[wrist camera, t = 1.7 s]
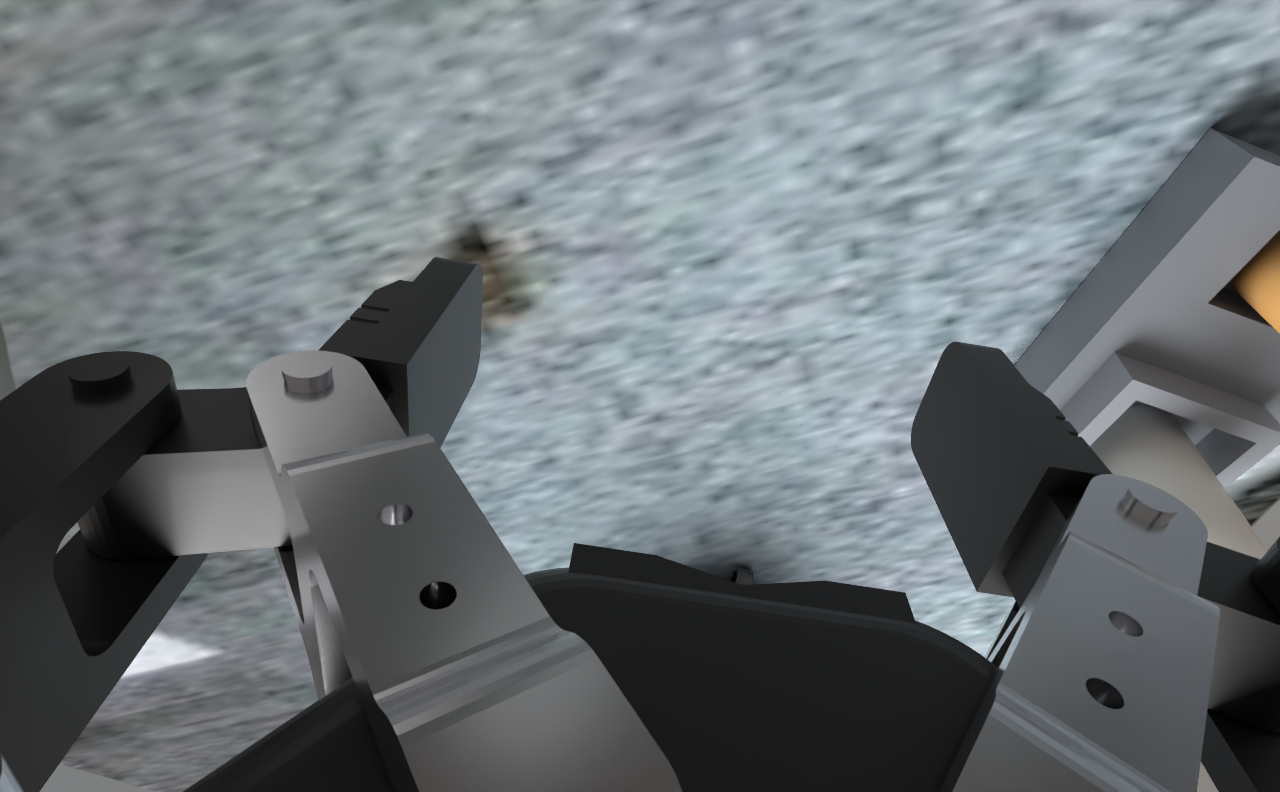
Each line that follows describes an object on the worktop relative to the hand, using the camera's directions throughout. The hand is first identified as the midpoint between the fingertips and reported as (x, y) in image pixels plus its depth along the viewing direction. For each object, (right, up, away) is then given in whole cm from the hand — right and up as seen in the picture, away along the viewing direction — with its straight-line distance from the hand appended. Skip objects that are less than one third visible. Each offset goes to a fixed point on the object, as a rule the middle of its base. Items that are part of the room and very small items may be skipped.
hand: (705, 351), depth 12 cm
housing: (+29, +3, +28) cm, 41 cm away
